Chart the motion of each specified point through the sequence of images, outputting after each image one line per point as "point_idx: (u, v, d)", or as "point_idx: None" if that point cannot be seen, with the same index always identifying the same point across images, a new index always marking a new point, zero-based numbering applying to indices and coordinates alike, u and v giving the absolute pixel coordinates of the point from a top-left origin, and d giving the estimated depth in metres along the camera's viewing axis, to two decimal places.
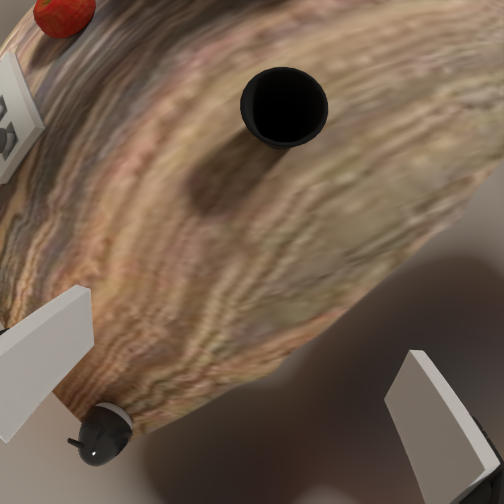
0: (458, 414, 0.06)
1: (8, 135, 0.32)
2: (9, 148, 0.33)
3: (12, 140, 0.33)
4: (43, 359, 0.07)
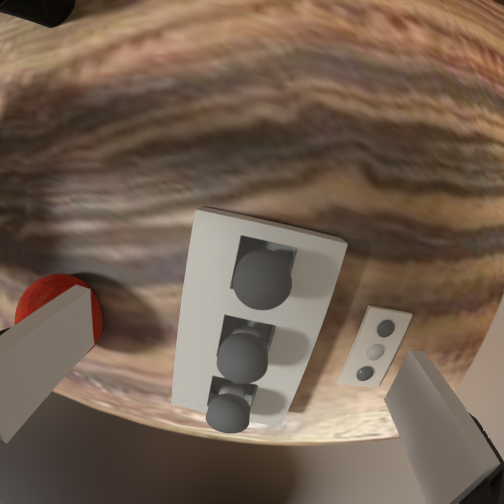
0: (458, 414, 0.06)
1: None
2: None
3: None
4: (43, 359, 0.07)
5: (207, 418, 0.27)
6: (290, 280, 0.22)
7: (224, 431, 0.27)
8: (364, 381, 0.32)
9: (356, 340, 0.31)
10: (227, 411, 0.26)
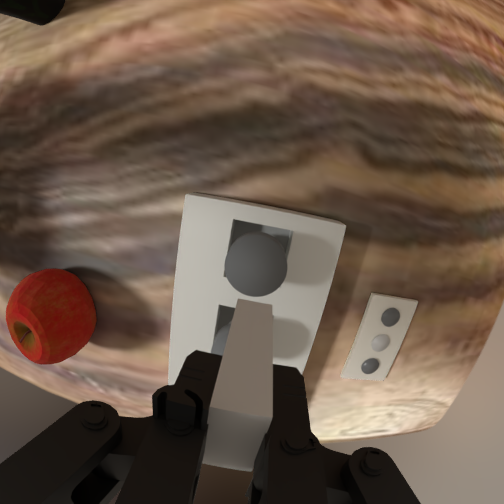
0: (256, 356, 0.08)
1: None
2: None
3: None
4: None
5: None
6: (285, 262, 0.21)
7: None
8: (369, 374, 0.30)
9: (360, 330, 0.29)
10: None
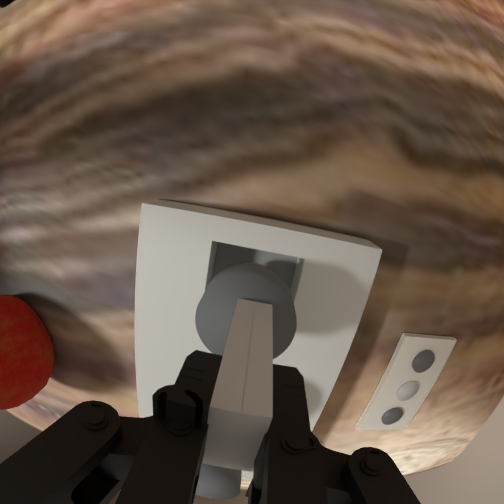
0: (256, 356, 0.08)
1: None
2: None
3: None
4: None
5: None
6: (294, 317, 0.13)
7: (208, 497, 0.17)
8: (390, 424, 0.22)
9: (384, 379, 0.21)
10: (209, 480, 0.16)
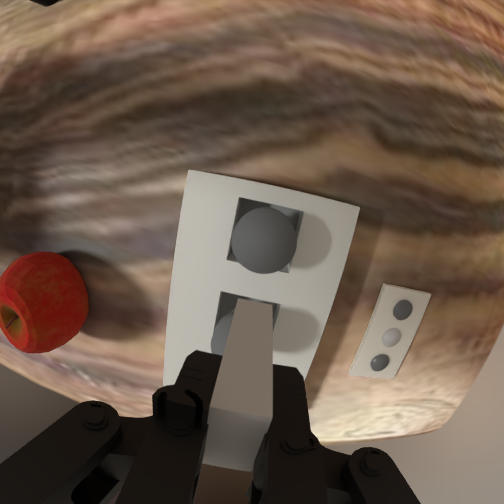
0: (256, 356, 0.08)
1: None
2: None
3: None
4: None
5: None
6: (295, 238, 0.20)
7: None
8: (379, 371, 0.28)
9: (370, 323, 0.27)
10: None
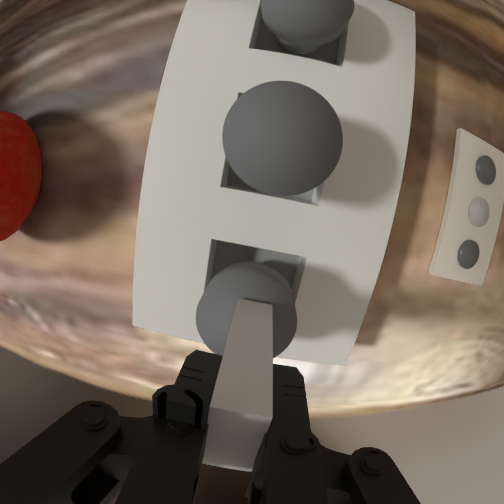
0: (255, 356, 0.08)
1: None
2: None
3: None
4: None
5: (199, 321, 0.13)
6: None
7: None
8: (467, 271, 0.17)
9: (453, 185, 0.16)
10: (247, 294, 0.12)
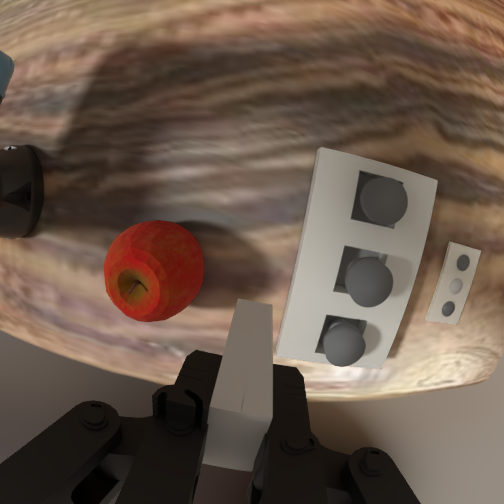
0: (256, 356, 0.08)
1: None
2: None
3: None
4: None
5: (326, 350, 0.29)
6: (406, 198, 0.25)
7: (340, 364, 0.30)
8: (447, 317, 0.32)
9: (441, 274, 0.31)
10: (347, 338, 0.29)
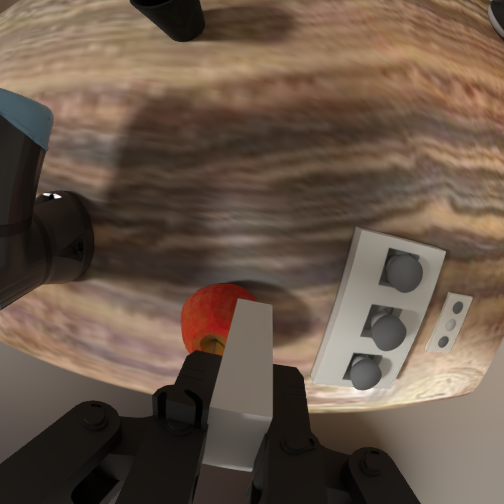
0: (255, 356, 0.08)
1: None
2: None
3: (391, 258, 0.36)
4: None
5: (353, 379, 0.37)
6: (422, 272, 0.32)
7: (362, 389, 0.37)
8: (442, 348, 0.41)
9: (440, 317, 0.39)
10: (369, 371, 0.36)
